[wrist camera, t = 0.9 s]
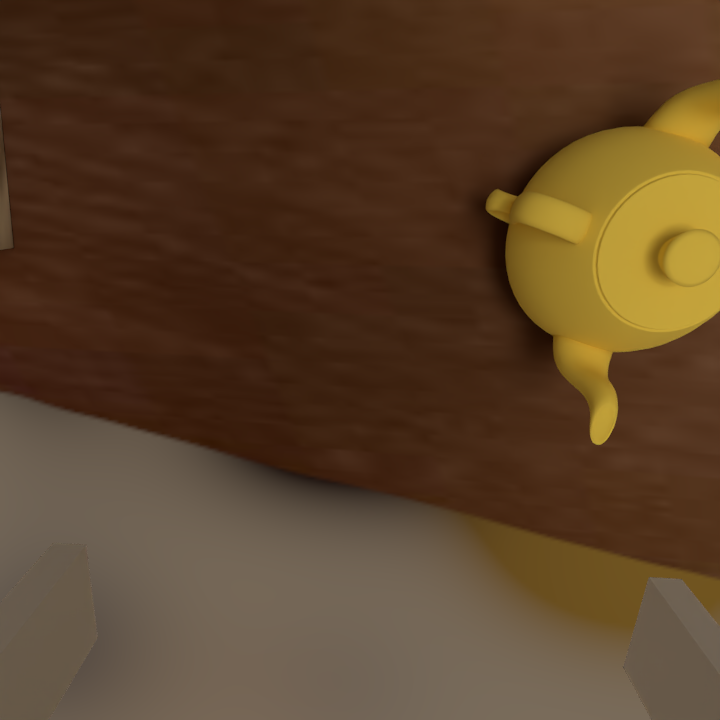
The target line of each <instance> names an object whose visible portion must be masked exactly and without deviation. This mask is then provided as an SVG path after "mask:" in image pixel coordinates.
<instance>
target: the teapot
mask: <svg viewBox="0 0 720 720" xmlns="http://www.w3.org/2000/svg"><path fill="white" fill-rule="evenodd" d="M719 130H720V79H718V80H715V81H711V82H708V83H704V84H700V85H697V86H694V87H691V88H688V89H686V90H684V91H682V92H680V93H678V94H676V95H675V96H673V97H672V98H670V99H669V100H668V101H666V102H665V103H664V104H663V105H662V106H661V107H660V108H659V109H658V110H657V111H656V112H655V113H654V114H653V115H652V117H651V118H650V119H649V120H648V121H647V122H646V124H645V125H644V126H643V127H641V126H633V127H620V128H614V129H608V130H603V131H600V132H596V133H593V134H590V135H587V136H585V137H583V138H581V139H579V140H576V141H574V142H573V143H571V144H569V145H568V146H566V147H564V148H563V149H561V150H560V151H559V152H557V153H556V154H555V155H554V156H552V157H551V158H550V159H549V160H548V161H547V162H546V163H545V164H544V165H543V166H542V167H541V168H540V169H539V170H538V171H537V172H536V174H535V175H534V176H533V177H532V179H531V180H530V181H529V183H528V184H527V186H526V187H525V189H524V191H523V192H522V193H521V194H520V195H519V196H514V195H511V194H508V193H506V192H503V191H501V190H499V189H496V190H494V191H493V192H492V193H491V194H490V195H489V197H488V198H487V201H486V211H487V212H488V213H490V214H491V215H493V216H494V217H496V218H498V219H500V220H502V221H504V222H507V223H509V227H508V233H507V238H506V251H505V258H506V269H507V274H508V279H509V283H510V285H511V288H512V291H513V294H514V296H515V297H516V299H517V301H518V303H519V305H520V306H521V308H522V309H523V310H524V312H525V313H526V315H527V316H528V317H529V318H530V319H531V320H532V321H533V322H534V323H535V324H536V325H538V326H539V327H540V328H542V329H543V330H544V331H545V332H547V333H549V334H551V335H552V336H553V354H554V360H555V363H556V365H557V368H558V369H559V371H560V372H561V374H562V375H563V376H564V377H565V378H566V379H567V380H568V381H569V382H570V383H571V384H572V385H573V386H574V387H575V388H577V389H578V390H579V391H580V392H581V393H582V394H583V396H584V397H585V398H586V400H587V402H588V404H589V409H590V437H591V440H592V442H593V443H594V444H596V445H600V444H603V443H604V442H605V441H606V440H607V439H608V437H609V436H610V434H611V432H612V430H613V428H614V425H615V422H616V418H617V413H618V403H617V395H616V392H615V389H614V387H613V386H612V384H611V383H610V382H609V380H608V367H609V362H610V359H611V356H612V353H613V352H629V351H636V350H642V349H648V348H652V347H656V346H659V345H662V344H665V343H667V342H670V341H672V340H675V339H677V338H679V337H681V336H683V335H685V334H687V333H689V332H691V331H693V330H694V329H696V328H697V327H699V326H700V325H701V324H703V323H704V322H706V321H707V320H709V319H710V318H712V317H713V316H714V315H715V314H716V313H717V312H719V311H720V157H719V156H718V155H717V154H716V153H715V152H713V151H712V150H710V149H709V146H710V144H711V143H712V141H713V139H714V138H715V136H716V134H717V133H718V132H719Z"/></svg>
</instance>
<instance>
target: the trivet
mask: <svg viewBox="0 0 720 720" xmlns="http://www.w3.org/2000/svg"><path fill="white" fill-rule="evenodd" d="M10 248H14V246H13V236H12V225H11V215H10V204H9V194H8V183H7V173H6V162H5V152H4V141H3V131H2V120H1V110H0V250H3V249H10Z"/></svg>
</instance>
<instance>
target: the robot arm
mask: <svg viewBox="0 0 720 720" xmlns="http://www.w3.org/2000/svg"><path fill="white" fill-rule="evenodd" d="M97 638H98V636H97V629H96V620H95V612H94V604H93V596H92V587H91V579H90V572H89V563H88V556H87V547H86V545H81V544H64V543H53V544H52V545H51V546H50V547H49V548H48V549H47V550H46V551H45V553H44V554H43V555H42V556H41V557H40V558H39V559H38V561H37V562H36V563H35V564H34V565H33V566H32V567H31V569H30V570H29V571H28V572H27V573H26V574H25V575H24V576H23V578H22V579H21V580H20V581H19V582H18V583H17V584H16V585H15V587H14V588H13V589H12V590H11V591H10V592H9V593H8V595H7V596H6V597H5V598H4V599H3V600H2V601H1V603H0V720H49V719H50V717H51V715H52V714H53V712H54V710H55V708H56V707H57V705H58V703H59V702H60V700H61V698H62V697H63V695H64V693H65V692H66V690H67V688H68V687H69V685H70V683H71V682H72V680H73V678H74V677H75V675H76V673H77V671H78V670H79V668H80V667H81V665H82V663H83V662H84V660H85V658H86V657H87V655H88V653H89V651H90V650H91V648H92V646H93V645H94V643H95V641H96V639H97ZM623 668H624V670H625V672H626V673H627V675H628V677H629V679H630V681H631V683H632V685H633V686H634V688H635V690H636V692H637V694H638V696H639V698H640V700H641V701H642V703H643V705H644V707H645V709H646V710H647V713H648V714H649V716H650V718H651V720H720V626H719V625H718V624H717V623H716V622H715V620H714V619H713V618H712V617H711V615H710V614H709V613H708V612H707V610H706V609H705V608H704V607H703V605H702V604H701V603H700V602H699V600H698V599H697V598H696V597H695V595H694V594H693V593H692V592H691V590H690V589H689V588H688V587H687V585H686V584H685V583H684V582H683V581H682V579H670V578H652V577H649V579H648V583H647V586H646V590H645V593H644V596H643V600H642V604H641V607H640V611H639V614H638V617H637V622H636V625H635V628H634V632H633V635H632V638H631V642H630V645H629V649H628V653H627V656H626V660H625V663H624V667H623Z"/></svg>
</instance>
